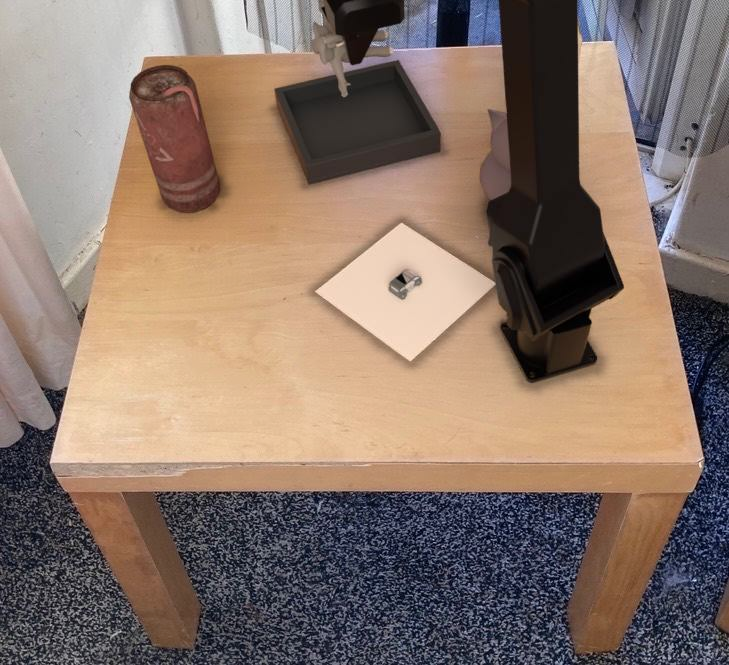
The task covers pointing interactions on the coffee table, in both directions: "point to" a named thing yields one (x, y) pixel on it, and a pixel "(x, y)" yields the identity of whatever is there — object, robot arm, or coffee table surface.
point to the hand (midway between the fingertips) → (346, 45)
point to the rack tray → (356, 122)
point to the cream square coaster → (405, 290)
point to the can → (175, 137)
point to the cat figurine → (497, 159)
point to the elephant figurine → (341, 48)
